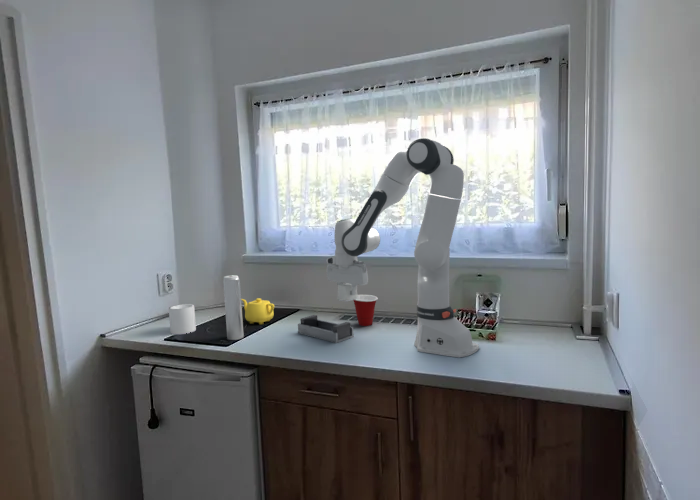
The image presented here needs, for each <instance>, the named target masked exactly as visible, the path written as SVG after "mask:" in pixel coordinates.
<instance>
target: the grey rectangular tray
mask: <svg viewBox="0 0 700 500" xmlns="http://www.w3.org/2000/svg"><path fill="white" fill-rule="evenodd" d="M354 331H355V330H354V326H351V322H349V321H344V322H342V323H335V322H333V321H332V322H331V321H327V320H322V319H318V315H315V314H312V315H309V316H305V317H301V318H300V322H299V323H297V333H298V334H300V335H304V336H308V337H311V338H315V339H320V340H323V341H327V342H330V343H334V344H337V343H340V342H343V341H345V340H348V339H352V338H354V335H355V332H354Z"/></svg>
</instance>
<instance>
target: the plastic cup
mask: <svg viewBox="0 0 700 500" xmlns="http://www.w3.org/2000/svg"><path fill="white" fill-rule="evenodd" d="M378 299H379V298H378V297H377V296H375V295H371V294H357V299H354V300H353V304H354V307H355V309H354V310H355V314H356V318H357V322H358V325H359V326H361V327H367V326H368V327H369V326H373V322H374V321H373V320H374V315H375V308H376V303H377V301H378Z"/></svg>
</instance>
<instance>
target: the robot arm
mask: <svg viewBox="0 0 700 500" xmlns="http://www.w3.org/2000/svg"><path fill="white" fill-rule="evenodd" d="M420 173H422V174H424V175H425V176H429V177H430V187H429V192H428V196H427V201H426V205H425V210H424V214H423V218H422V220H421V224H420V228H419V232H418V236H417V240H416V242H415V246H414V252H413V253H414V254H413V255H414V260H415V262H416V264H418V270H417V284H416V285H417V287H416V288H417V305H416V317H417V327H416V329H417V330H416V334H415V335H416V336H415V340H414V344H413V345H414V347H416V348H417V349H416V350H417V351H418V352H419V353H420V352H421V353H427V354H433V355H434V354H435V355H439V356H447V357H453V358H464V357H468V356H471V355H473V354H475V353H476V352H478V351H479V350H480V345H479V344H478V343H477V342H476V343H475V342H473V338H472V334H471V331H470V329H469V328H468V327H466V326H465V325H464V324H463V323H462V322H461V321H460V320H459V319H457V318H456V317H455V314H454V313H457V308H455V309H453V308H452V305H450V264H451V262H450V252H451V251H450V246H451V242H452V239H453V234H454V230H455V227H456V223H457V219H458V214H459V209H460V205H461V200H462V198H463V197H462V196H463V191H464V183H465V182H464V181H465V179H464V178H465V177H464V176H465V174H464V170H463V169H462V168H461V167H460V166H458V165H455V164H454V155H453V153H452V151H451V150H450V149H449V148H448V147H447V146H445V145H443V144H441V142H438V141H436V140H433V139H432V140H431V139H429V138H424V137H423V138H417V139H415V140H413V141H412V142H411V143H410V144H409V146H408V148H407V149H404V148H403V149H399V150H397V151H396V152H395V153H394V154H393V155H392V157H391V158H390V160H389V161H388V163H387V164H386V166H385V167H384V170H383V172H382V174H381V176H380V178H379V180H378V181H377V184H376V185H375V187H374V189H373V191H372V193H370V194H371V195H370V196H369V198H368V199H367V200H366V202H365V204H364V205H363V207H362V209H361V211H360V212H359V214H358V215H357V218H356V219H354V218H345V219H339V220H338V221H337V222H336V223H335V226H334V245H335V250H334V255H333V256H330V257H327V258H326V260H325V262H326V264H327V265H326V279H327V281H328V282H334V283H336V284H337V285H336V286H337V287H338V285H341V284H346V283H347V284H351V285H352V287H353V288H352V290H351V291H350V295H355V294H356V289H357V290H358V286H365V285H368V283H369V274H368V269H367V264H366V263H365V262H364V261H361V260H358V256H360V255H363V254H366V253H369V252H373V251H374V250H377V249H378V247H379V246H380V244H381V235H380V233H379V231H378V230H377V229H376V228H374V226H375V225H374V224H375V223H376V221H377V220H378V218H379V217H380V215H381V213H383V212H384V211H385V210H386V209H388V208H389V207H391V206H394V205H395V204H397V203H399V202H401V200H402V199H403V198H404V197H405V195H406V194H407V192H408V191H409V188H410V187H411V184H412V183H413V181H414V179H415V178H416V176H417V175H418V174H420Z"/></svg>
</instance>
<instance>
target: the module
mask: <svg viewBox="0 0 700 500" xmlns="http://www.w3.org/2000/svg"><path fill="white" fill-rule="evenodd" d="M352 288H353V287H352V285H351V284H347V283H343V284H341V285H338V286H337V300H338V301H341V302H349V301H354V299H357V295H358V288H357V289H356V294H355V295H350V291H351V290H352Z"/></svg>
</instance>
